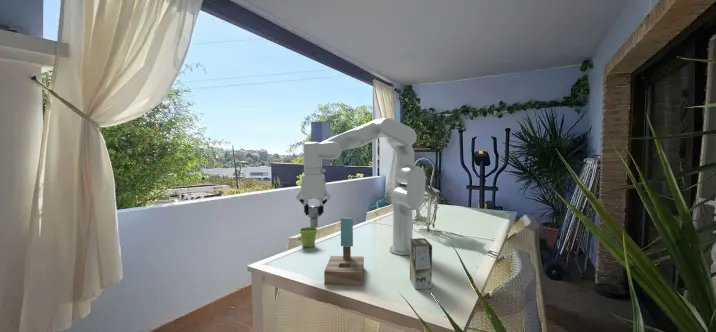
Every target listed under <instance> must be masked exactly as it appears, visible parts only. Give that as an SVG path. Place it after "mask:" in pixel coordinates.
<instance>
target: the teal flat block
mask: <svg viewBox="0 0 716 332" xmlns="http://www.w3.org/2000/svg"><path fill="white" fill-rule="evenodd" d="M343 246H351V247H354V225H353V217H340V247H343Z"/></svg>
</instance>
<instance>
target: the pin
mask: <svg viewBox="0 0 716 332" xmlns="http://www.w3.org/2000/svg"><path fill="white" fill-rule="evenodd" d="M319 206H320V205H319V204H318V205H316V204H314V205H311V204H310V205H309V206H308V215H307V217H308V218H309V222H310V224H309V225H310V226H309V227H312V228H318V227H319V217H321V215H319Z"/></svg>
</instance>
